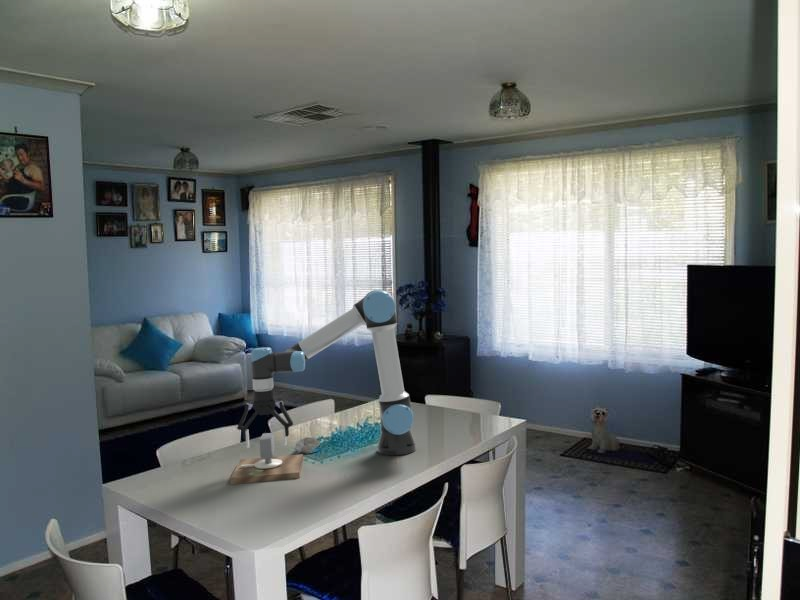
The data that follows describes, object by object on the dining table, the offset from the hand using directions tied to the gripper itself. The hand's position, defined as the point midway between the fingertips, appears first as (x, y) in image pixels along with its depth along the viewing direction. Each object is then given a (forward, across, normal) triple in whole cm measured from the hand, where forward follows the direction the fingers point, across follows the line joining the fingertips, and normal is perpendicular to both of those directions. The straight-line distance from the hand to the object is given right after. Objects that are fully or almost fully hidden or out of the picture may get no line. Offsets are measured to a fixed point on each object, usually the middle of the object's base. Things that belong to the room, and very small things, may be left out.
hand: (266, 446), depth 235 cm
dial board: (+9, 0, 0) cm, 9 cm away
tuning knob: (+7, +2, 0) cm, 7 cm away
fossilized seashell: (+10, -14, -24) cm, 29 cm away
